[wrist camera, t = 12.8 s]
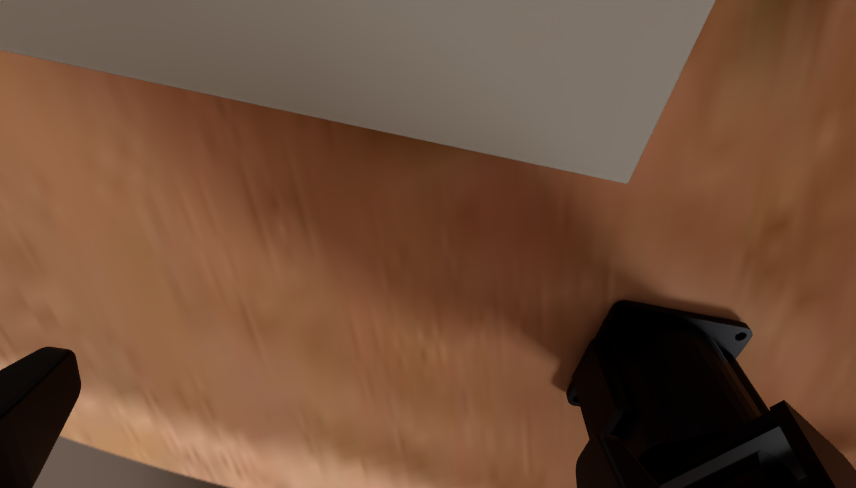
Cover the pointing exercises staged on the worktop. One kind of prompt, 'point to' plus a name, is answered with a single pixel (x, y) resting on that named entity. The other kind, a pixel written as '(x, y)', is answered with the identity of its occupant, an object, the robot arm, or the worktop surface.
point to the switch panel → (401, 64)
